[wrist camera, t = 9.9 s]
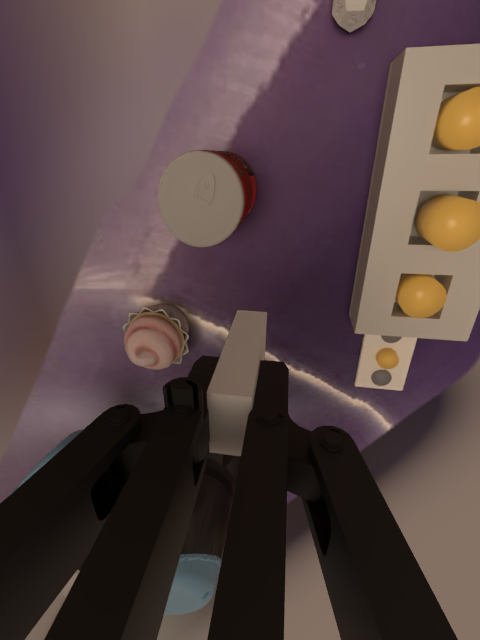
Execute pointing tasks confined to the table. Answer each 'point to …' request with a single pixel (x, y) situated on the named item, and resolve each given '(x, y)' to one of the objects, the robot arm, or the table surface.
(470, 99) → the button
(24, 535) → the robot arm
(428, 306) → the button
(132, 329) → the cupcake
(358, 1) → the game die
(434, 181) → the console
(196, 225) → the canned food
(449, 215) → the button mid
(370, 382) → the pattern card
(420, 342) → the table surface
